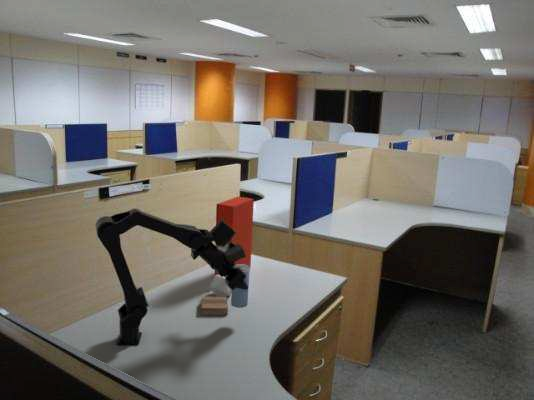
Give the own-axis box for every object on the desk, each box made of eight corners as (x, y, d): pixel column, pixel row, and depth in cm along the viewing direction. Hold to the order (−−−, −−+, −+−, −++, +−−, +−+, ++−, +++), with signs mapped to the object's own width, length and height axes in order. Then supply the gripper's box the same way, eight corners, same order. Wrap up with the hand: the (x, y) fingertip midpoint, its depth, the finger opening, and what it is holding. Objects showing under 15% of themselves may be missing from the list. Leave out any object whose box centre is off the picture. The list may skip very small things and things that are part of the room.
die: (229, 290, 176) (215, 270, 174) (243, 287, 169) (228, 266, 168) (216, 304, 170) (201, 284, 168) (230, 301, 164) (214, 280, 162)
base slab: (227, 314, 155) (227, 308, 154) (201, 314, 154) (201, 308, 153) (226, 303, 164) (227, 296, 163) (202, 303, 163) (202, 296, 162)
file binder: (213, 278, 185) (216, 203, 178) (234, 265, 200) (237, 196, 193) (230, 282, 181) (234, 206, 174) (250, 269, 197) (254, 199, 189)
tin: (248, 307, 146) (250, 270, 143) (231, 307, 146) (233, 270, 143) (247, 300, 152) (249, 264, 149) (230, 300, 151) (232, 264, 148)
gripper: (241, 247, 134) (272, 278, 141) (222, 229, 150) (251, 257, 157) (215, 274, 132) (247, 304, 139) (198, 253, 149) (228, 280, 156)
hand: (244, 285), depth 148 cm, fingers closed on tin, 5 cm apart
